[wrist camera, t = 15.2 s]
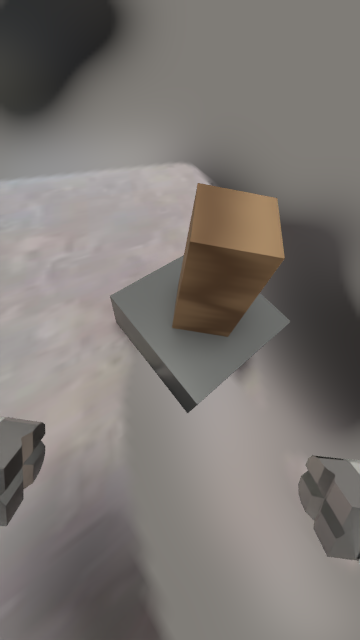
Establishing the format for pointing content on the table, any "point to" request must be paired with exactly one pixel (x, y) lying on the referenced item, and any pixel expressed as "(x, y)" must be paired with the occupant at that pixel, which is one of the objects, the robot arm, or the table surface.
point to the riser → (188, 336)
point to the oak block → (226, 258)
